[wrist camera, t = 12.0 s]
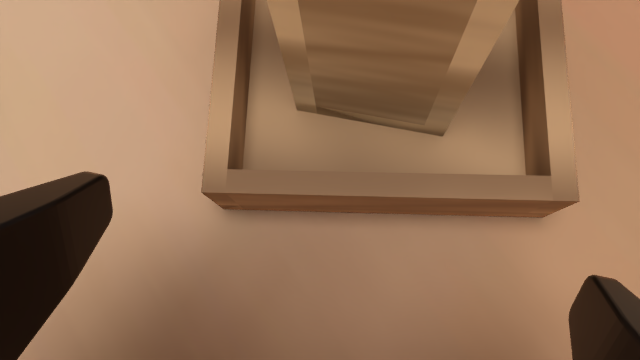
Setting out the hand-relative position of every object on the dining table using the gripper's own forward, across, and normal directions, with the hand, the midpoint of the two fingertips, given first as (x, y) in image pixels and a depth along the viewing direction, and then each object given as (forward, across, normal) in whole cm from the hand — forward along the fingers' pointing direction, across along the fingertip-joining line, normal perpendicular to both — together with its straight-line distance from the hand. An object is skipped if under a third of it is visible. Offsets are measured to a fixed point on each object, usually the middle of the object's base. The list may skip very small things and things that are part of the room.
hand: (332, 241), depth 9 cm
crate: (+12, 0, +1) cm, 13 cm away
